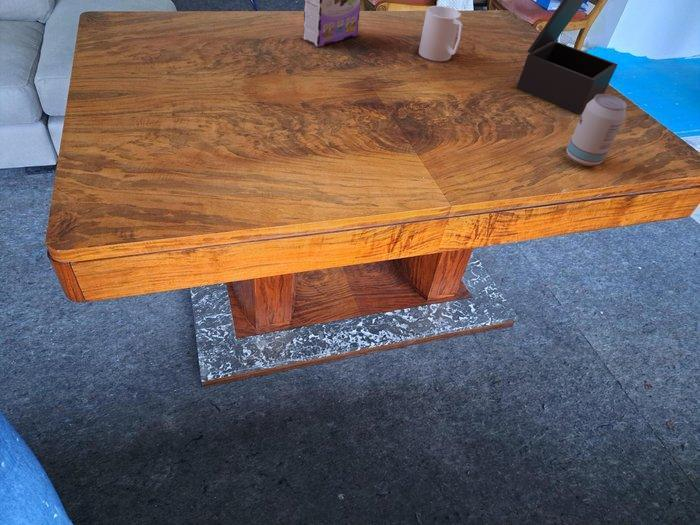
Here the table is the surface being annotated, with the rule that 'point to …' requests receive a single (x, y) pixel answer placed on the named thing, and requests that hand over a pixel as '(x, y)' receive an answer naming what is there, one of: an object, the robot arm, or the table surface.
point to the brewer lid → (556, 23)
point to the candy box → (330, 20)
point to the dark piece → (565, 76)
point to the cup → (440, 33)
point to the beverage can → (596, 129)
